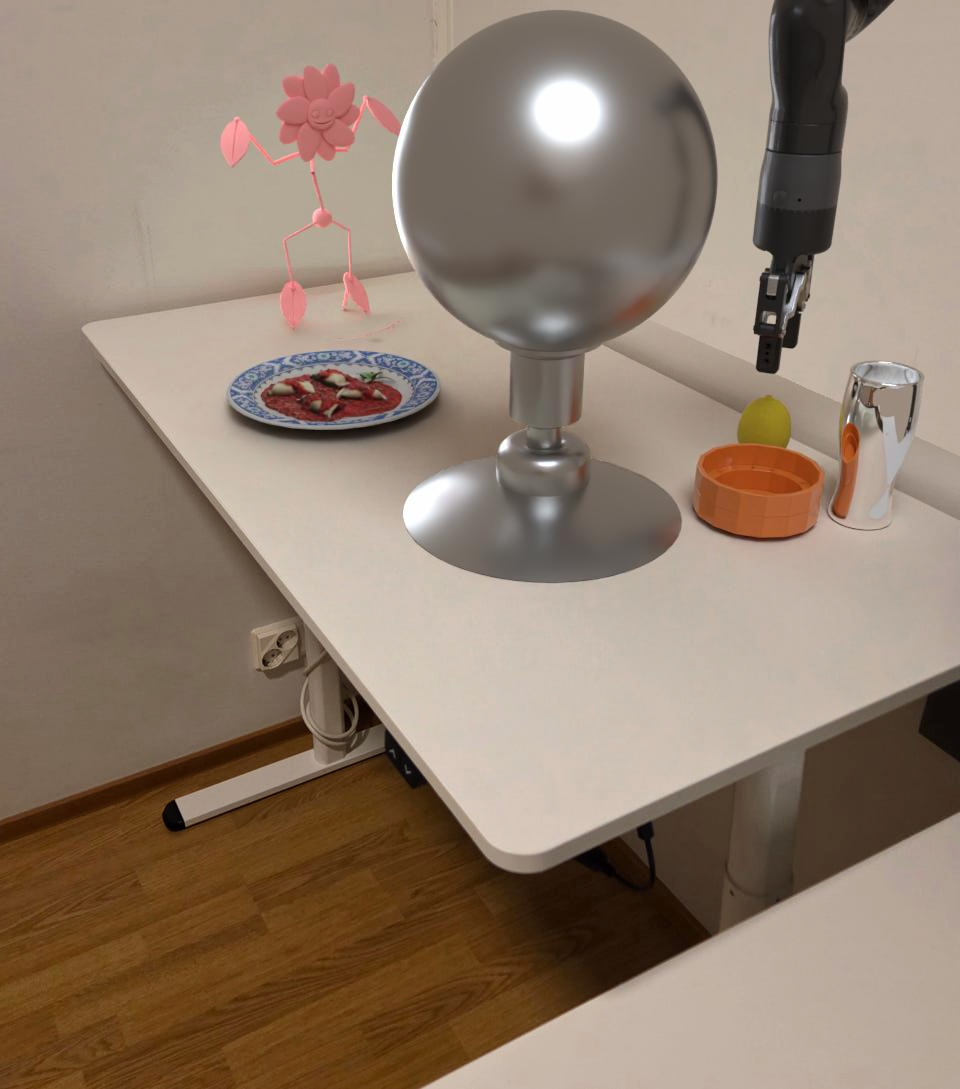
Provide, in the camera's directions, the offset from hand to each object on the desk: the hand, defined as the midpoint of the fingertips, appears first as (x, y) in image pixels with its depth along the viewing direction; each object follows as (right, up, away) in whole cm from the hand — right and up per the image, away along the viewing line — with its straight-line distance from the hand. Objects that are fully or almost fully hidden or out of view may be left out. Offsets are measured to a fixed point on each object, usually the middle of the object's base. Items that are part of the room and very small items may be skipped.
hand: (776, 359), depth 114 cm
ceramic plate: (-48, -2, +21) cm, 53 cm away
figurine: (-52, +13, +47) cm, 71 cm away
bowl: (-3, -16, -4) cm, 17 cm away
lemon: (0, -11, +6) cm, 12 cm away
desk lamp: (-25, -16, -4) cm, 29 cm away
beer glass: (+7, -17, -5) cm, 18 cm away
